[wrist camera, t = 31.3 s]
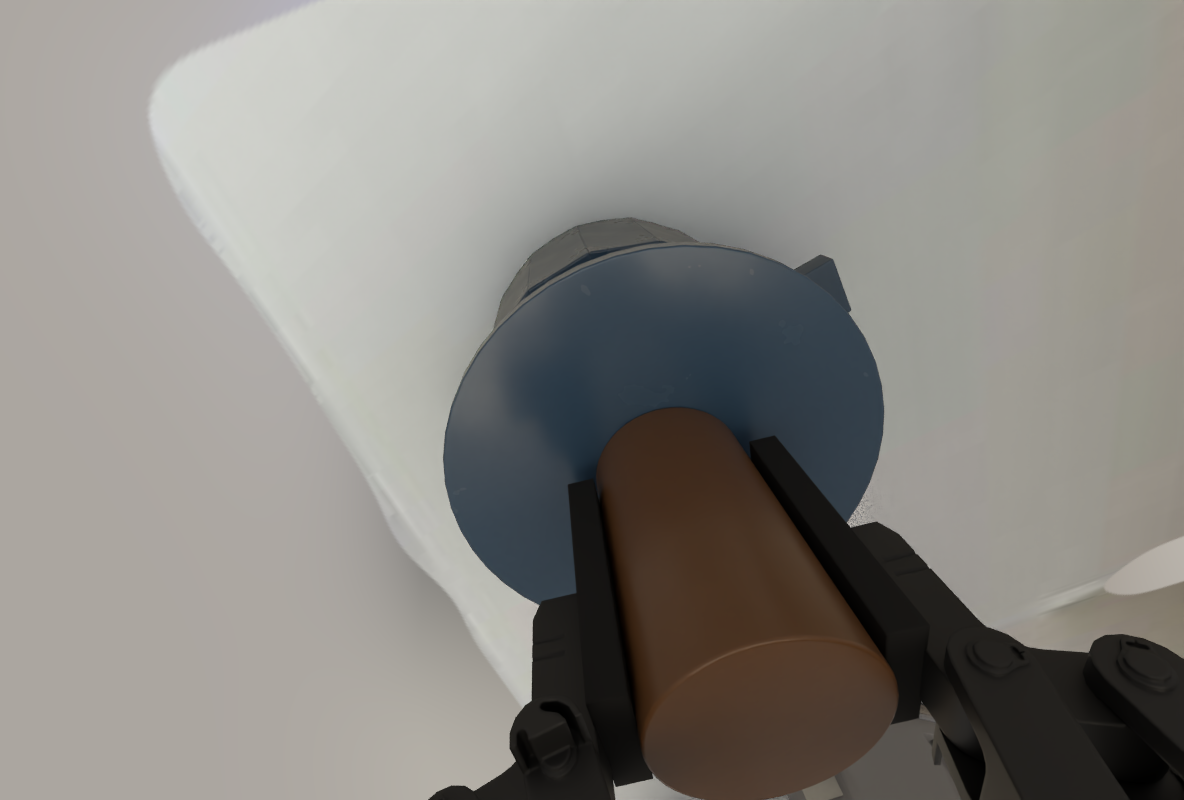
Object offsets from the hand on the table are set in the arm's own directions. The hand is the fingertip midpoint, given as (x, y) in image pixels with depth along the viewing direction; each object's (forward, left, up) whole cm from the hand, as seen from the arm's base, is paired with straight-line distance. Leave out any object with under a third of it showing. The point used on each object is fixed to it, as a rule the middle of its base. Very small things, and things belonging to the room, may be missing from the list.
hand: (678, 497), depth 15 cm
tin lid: (0, 0, -2) cm, 2 cm away
